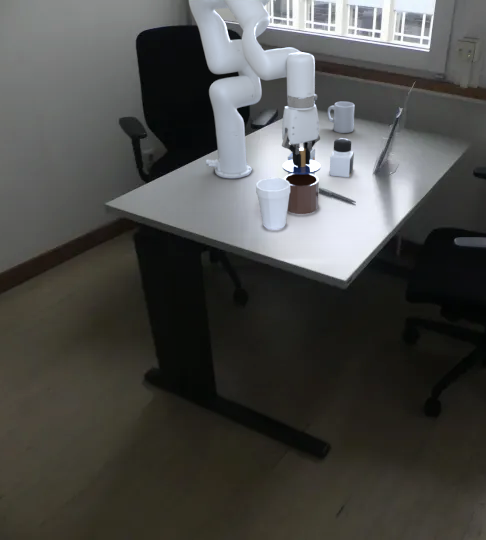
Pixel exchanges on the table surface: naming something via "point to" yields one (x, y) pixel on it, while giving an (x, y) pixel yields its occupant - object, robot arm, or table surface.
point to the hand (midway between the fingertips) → (301, 164)
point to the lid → (302, 165)
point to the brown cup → (303, 193)
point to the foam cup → (273, 201)
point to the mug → (342, 117)
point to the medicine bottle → (341, 158)
